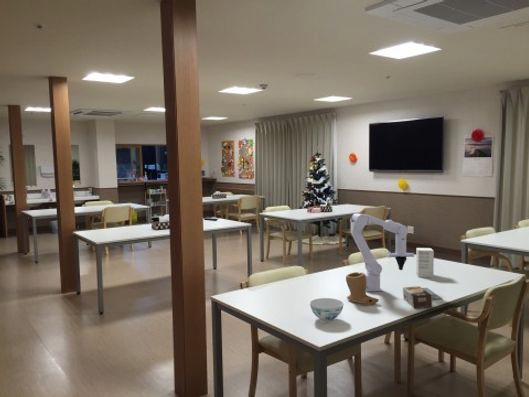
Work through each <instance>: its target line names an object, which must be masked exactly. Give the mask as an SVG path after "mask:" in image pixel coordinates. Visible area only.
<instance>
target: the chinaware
mask: <svg viewBox="0 0 529 397" xmlns="http://www.w3.org/2000/svg"><path fill="white" fill-rule="evenodd" d="M309 305H310V309H311V311H312V313H313V314H314V316H315V317H316V318H318V319H319V321H320V322H322V323H331V322H334V321H335V319H337V318H338V317H339V316H340V315H341V314H342V312H343V309H344V305H345V304H344V301H342V300H340V299H336V298H331V297H330V298H329V297H321V298H315V299H312V300H310V302H309Z"/></svg>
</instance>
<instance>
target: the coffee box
mask: <svg viewBox="0 0 529 397" xmlns="http://www.w3.org/2000/svg"><path fill="white" fill-rule="evenodd" d="M423 288H424V287H421V286H420V285H417V286H405V287H402V293H403V294H402V295H403V300H405V302H407V304H409V305H410V306H411V307H412V308H413V309H426V308H427V309H429V308H433V300H432V299H431V294H429V293H428V292H427V291H425V290H424V289H423Z"/></svg>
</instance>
